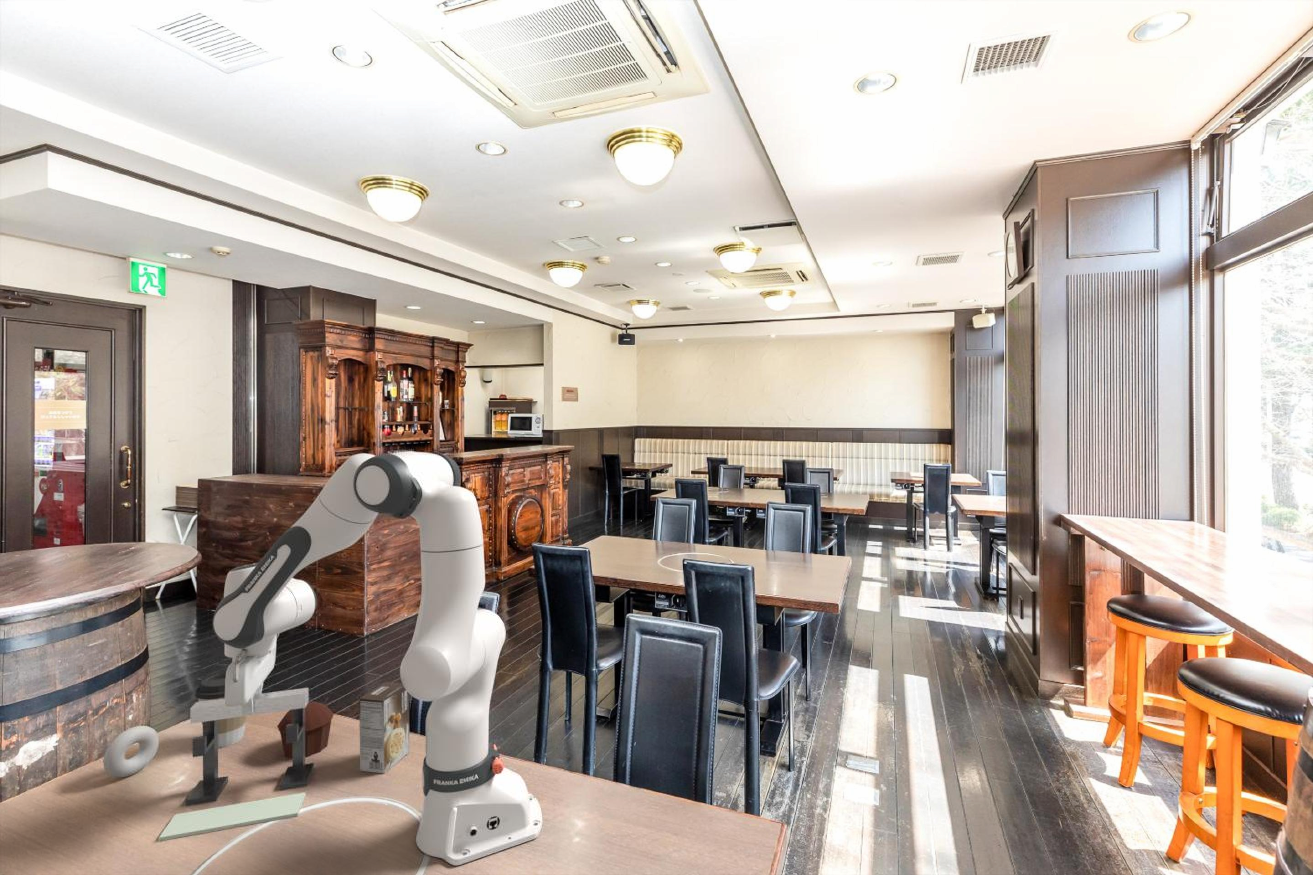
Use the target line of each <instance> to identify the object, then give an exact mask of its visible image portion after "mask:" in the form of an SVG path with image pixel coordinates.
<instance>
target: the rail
mask: <svg viewBox="0 0 1313 875" xmlns="http://www.w3.org/2000/svg"><path fill="white" fill-rule="evenodd" d="M309 700H310V699H309V687H302V688H294V689H287V690H279V691H272V692H264V693H263V692H262V693H261V694H255V695H254V696H253V703H255V707H254V708H255V710H254V712H253V713H252V714H251V715H247V716H246V717H248V716H254V715H255V716H256V715H261V714H269V713H275V712H284V711H285V712H286V711H289V710H292V709H300V708H305V707H306V706H307V704H308V702H310V701H309ZM189 711H190V713H189V714H190V715H189V716H190V717H189V718H190V719H189V720H190V724H197V723H198V724H199V723H202V722H206V721H213V720H220V719H227V718H235V717H242V716H244V715H242V707H241V705H239V706H231V707H228V706H226V704H225V699H217V700H209V701H201V702H199V701H196V702H195V703H194V704H193V705H192V706H191V707H190V710H189Z"/></svg>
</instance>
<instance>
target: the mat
mask: <svg viewBox="0 0 1313 875" xmlns="http://www.w3.org/2000/svg"><path fill="white" fill-rule="evenodd" d="M306 795H307V792H301V793H294V794H288V795H281V796H278V797H277V796H276V797H270V798H269V797H268V798H264V799H259V800H253V801H252V800H251V801H246V802H240V803H235V804H234V803H233V804H229V805H228V804H227V805H223V806H217V807H212V808H211V807H210V808H206V809H205V808H203V809H200V810H193V811H187V812H182V813H181V812H180V813H176V814H174V815H173V817H172V818H171V819H170V821H169V823H168V824H167V825H166V826H165V828H164V829H163V831H162V832H161V833H160V835H159V837H158V842H162V841H165V840H166V841H167V840H173V839H177V838H184V837H189V836H190V837H191V836H195V835H199V834H207V833H210V832H211V833H212V832H217V831H223V830H227V829H232V828H233V829H234V828H238V827H239V828H240V827H243V826H251V825H254V824H255V825H257V824H260V823H266V822H272V821H277V820H283V819H288V818H289V819H290V818H294V817H298V816H299V814H300V811H301V808H302V806H303V804H304V801H305V799H306Z"/></svg>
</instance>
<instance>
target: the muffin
mask: <svg viewBox="0 0 1313 875" xmlns="http://www.w3.org/2000/svg"><path fill="white" fill-rule="evenodd" d="M333 717H334V713H333V711H332V710H331V709H330V708H329V707H328V706H327V705H326V704H324V703H321V702H318V701H309V702H308V704H307V706H306V707H305V758H309V757H311V756H313V755H316V754H319V753H321V752H322V751H323V750H324V749H325V748H327V747H328V743H329V738H330V731H331V725H332V720H333ZM287 724H292V710H287V712H286V713H285V715H284V716H283V717H282V718H281V720H280V721H279V723H278V724H277V726H276V727H277V729H278V731H279V734H280V739H281V744H282V748H283V749H282V750H283V755H284V757H286V758H289V759H292V743H288V744H286V726H287Z"/></svg>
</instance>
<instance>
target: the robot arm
mask: <svg viewBox="0 0 1313 875" xmlns="http://www.w3.org/2000/svg"><path fill="white" fill-rule="evenodd" d="M461 480H462V475H461V470H460V467H459V465H458V464H457V462H456V461H455V460H454V459H453V458H452V457H450V456H449V455H446V454H444V453H442V452H441V453H440V452H437V451H429V452H428V451H427V452H425V451H424V452H422V451H414V450H408V451H407V450H406V451H399V452H392V453H381V454H378V455H374V454H372V453H365V452H364V453H356V454H353V455H351V456H350V457H348V458H347V459H346V460H345V461H344V462H343V463H342V464H341V466H339V467H338V468H337V469H336V471H335V472H334V473H333V474H332V475H331V476H330V478H329V479H328V480H327V482H326V483H325V485H324V486H323V488H322V489H321V491H320V492H319V494H318V496H316V498H315V500H314V501H313V502H312V503H311V505H310V506H309V507H308V509H307V510H306V511H305V512H304V514H302V515H301V516H300V518H298V519H297V521H295V523H294V524H293V525H291V527H289V528H288V529H287V530H286V531H285V532H284V533H283V534H282V535H280V537H278V539H277V540H275V542H274V543H273V544H272V545H271V547H270V548H269V549H268V550H267V551H266V553H265V554H264V555H263V556H262V558H261V559H260V560H259V562H254V563H249V564H245V565H240V566H237V567H234V568H232V569H231V570H229V572H228V573H227V575H226V578H225V582H224V583H225V584H224V591H223V598H222V599H221V600H220V602H219V603H218V605H217V606H216V609H215V610H214V614H213V615H212V621H211V622H212V623H211V624H212V631H213V633H214V635H215V637H216V638H217V639H218V640H219V641H220V642H222V643H223V644H224V656H225V657H227V658H231V659H232V660H231V661H232V662H231V663H229V665H228V667H227V669H226V671H225V672H226V679H225V704H226V706H228V707H231V706H239V705H241V707H242V715H244V716H246V717H248V716H247V715H249V716H252V715H251V714H252V713H253V712H254V710H255V708H254V707H255V703H253V696H254V695H255V694H262V693H263V692H262V691H263V687H264V682H265V680H266V679H267V678H268V676H269V675H270V673H271V672H272V671H273V669H274V668H275V663H276V656H277V655H276V654H277V639H278V638H279V636H280V634H281V633H283V632H284V633H285V632H286V631H289V630H291V629H293V628H296V627H298V626H301V625H303V624H305V623H307V622H308V621H310V620H311V619H312V618H313V616H314V614H315V611H316V609H317V603H318V602H317V600H318V599H317V595H316V592H315V590H314V588H313V586H312V585H311V584H310V583H309V582H307V581H305V580H303V579H297V578H294V576H295V575H297V573H299V572H300V571H302V570H303V569H304V568H306V567H308V566H309V565H311V564H313V563H315V562H316V561H319V560H322V559H324V558H325V557H328V556H330V555H333V554H335V553H337V552H340V551H342V550H345V549H348V548H349V547H351V546H352V545H354V544H355V543H357V542H358V541H359V540H360V539H361V538H362V537H363V536H365V534H366V533H367V531H369V529H370V527H371V526H372V525H373V523H374V521H375V520H376V518H377V517H378V515H379V514H382V515H387V516H390V517H393V518H396V519H399V520H405V519H406V518H408V517H410V516H411V517H412V518H413V519H414V520H415V522H417V525H418V528H419V540H420V544H419V545H420V546H419V547H420V570H421V572H420V574H421V595H420V602H419V608H418V613H417V619H416V624H415V628H414V632H413V635H412V639H411V642H410V644H409V647H408V649H407V651H406V653H405V654H404V656H403V658H402V660H401V664H400V666H399V667H400V668H399V676H400V677H399V678H400V680H401V683H402V684H403V686H404V688H405V689H406V691H407V692H408V693H409V696H412V697H413V698H414V699H416V700H418V701H421V702H431V704H430V706H429V708H428V711H427V713H426V717H425V756H424V758H423V764H422V770H421V771H422V772H421V774H422V775H421V777H422V778H421V779H422V780H421V781H422V791H423V804H422V810H421V817H420V820H419V821H420V822H419V827H418V829H417V832H416V836H415V842H416V846H417V847H418V849H419V850H420V851H421V852H423V853H424V854H426V855H428V856H430V857H435V858H439V859H443V860H444V861H445V862H447V863H448V864H450V865H452V866H460V865H463V864H466V863H469V862H472V861H475V860H477V859H480V858H483V857H486V856H489V855H492V854H495V853H498V852H500V851H503V850H506V849H510V848H512V847H515V846H518V845H520V844H523V843H526V842H530V841H532V840H535V839H536V838H537V837H538V836H539V834H540V833H541V831H542V828H543V815H542V814H543V813H542V809H541V806H540V802H539V801H538V799H537V798H536V797H535V796H534V794H532V793H531V792H529V791H528V790H529V789H528V787H527V785H526V782H525V780H524V779H523V777H522V776H521V775H520V774H519V773H517V772H514V771H512V770H511V769H508V768H507V767H505V766H504V762H503V760H502V759H501V758H500V757H501V756H500V752H499V750H498V748H497V746H496V744H495V743H494V744H493V747H492V746H490V745H489V724H490V723H489V722H490V721H489V719H490V718H489V717H490V716H489V714H490V704H491V698H492V694H493V688H494V684H495V678H496V672H497V668H498V662H499V661H498V660H499V657H500V653H501V652H502V648H503V645H504V643H505V640H506V635H507V634H506V633H507V632H506V627H505V623H504V621H503V620H502V618H501V617H500V615H498V614H497V613H495V611H492V610H489V609H485V608H483V609H481V608H480V609H478V608H479V603H480V601H481V597H482V594H483V592H484V590H485V586H486V570H485V551H484V548H485V547H484V533H483V525H482V520H481V514H480V509H479V506H478V500H477V497H476V496H475V494H474V493H473V492H472V491H471V490H470V489H467V488H465V487H462V486H461V483H462V481H461Z"/></svg>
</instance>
